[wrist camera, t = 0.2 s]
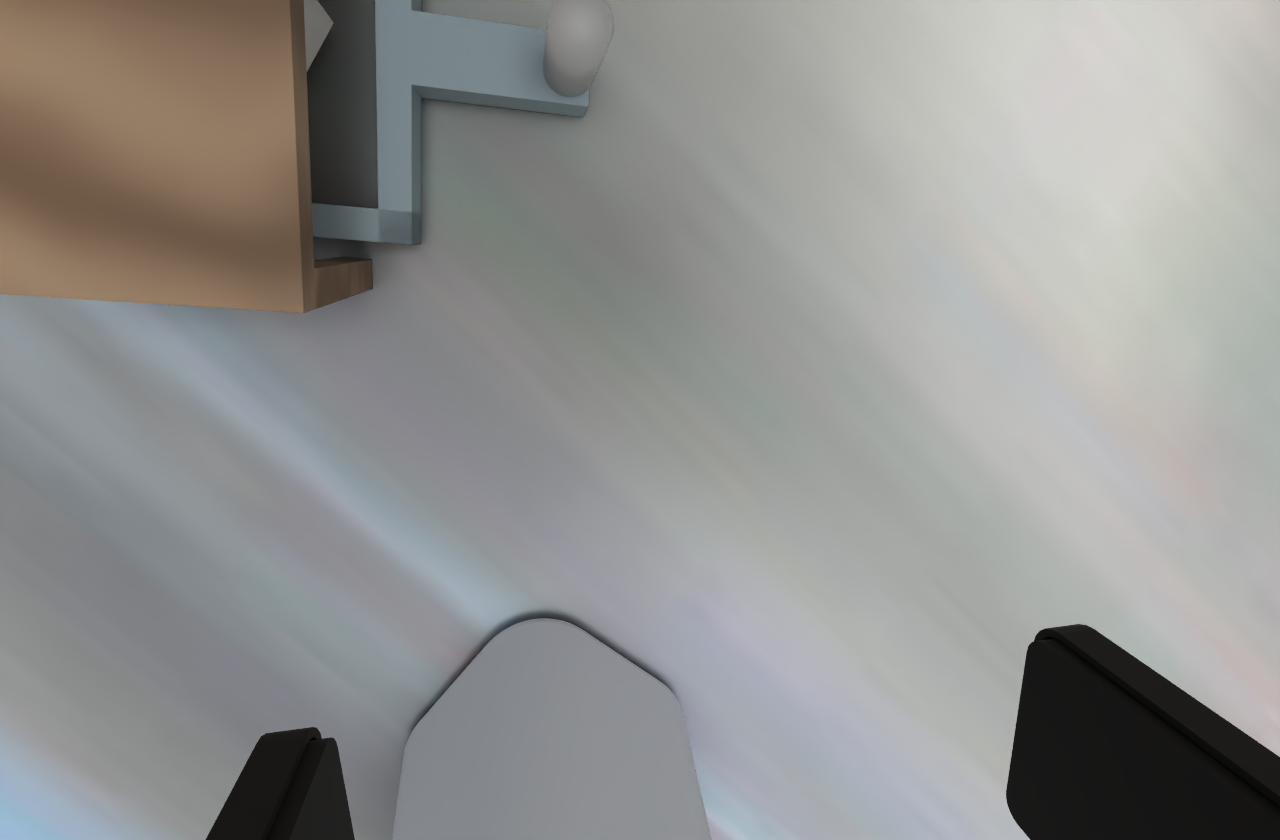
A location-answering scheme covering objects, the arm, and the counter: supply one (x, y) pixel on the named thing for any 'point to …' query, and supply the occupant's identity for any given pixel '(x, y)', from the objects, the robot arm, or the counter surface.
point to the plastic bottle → (550, 748)
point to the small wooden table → (161, 155)
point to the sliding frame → (462, 93)
